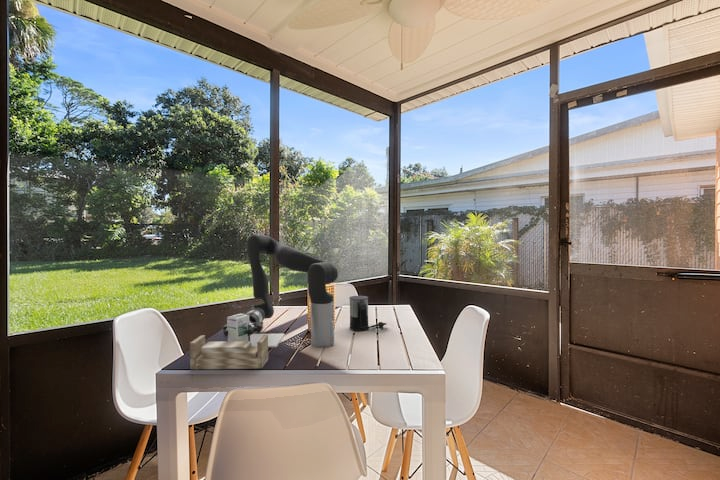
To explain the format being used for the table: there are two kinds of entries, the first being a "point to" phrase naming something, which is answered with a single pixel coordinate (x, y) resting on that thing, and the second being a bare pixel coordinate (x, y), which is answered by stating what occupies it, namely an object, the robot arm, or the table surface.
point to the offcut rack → (228, 354)
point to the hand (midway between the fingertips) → (237, 333)
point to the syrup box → (238, 327)
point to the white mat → (272, 339)
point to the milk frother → (360, 314)
